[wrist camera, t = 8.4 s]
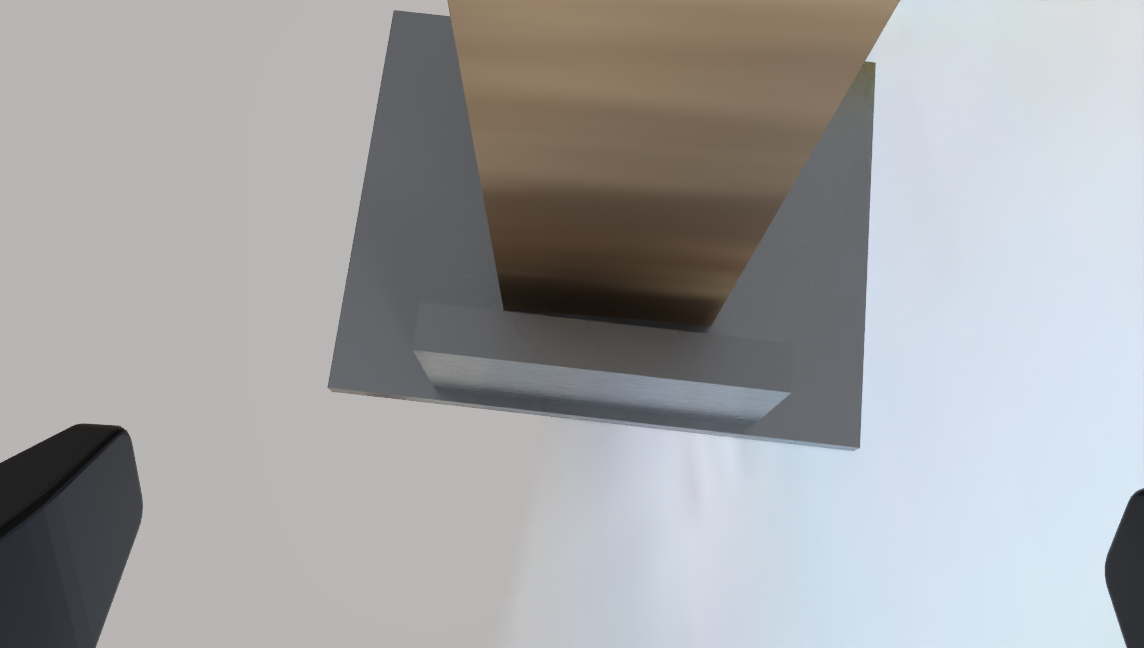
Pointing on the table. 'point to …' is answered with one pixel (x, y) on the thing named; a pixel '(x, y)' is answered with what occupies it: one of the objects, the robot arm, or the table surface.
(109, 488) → the robot arm
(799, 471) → the table surface
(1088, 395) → the table surface
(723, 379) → the clip
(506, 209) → the brown wooden block
